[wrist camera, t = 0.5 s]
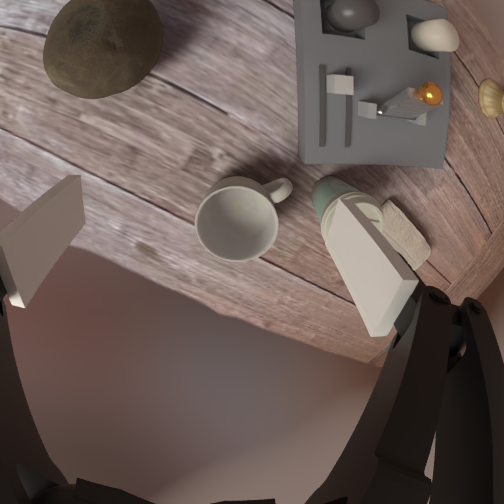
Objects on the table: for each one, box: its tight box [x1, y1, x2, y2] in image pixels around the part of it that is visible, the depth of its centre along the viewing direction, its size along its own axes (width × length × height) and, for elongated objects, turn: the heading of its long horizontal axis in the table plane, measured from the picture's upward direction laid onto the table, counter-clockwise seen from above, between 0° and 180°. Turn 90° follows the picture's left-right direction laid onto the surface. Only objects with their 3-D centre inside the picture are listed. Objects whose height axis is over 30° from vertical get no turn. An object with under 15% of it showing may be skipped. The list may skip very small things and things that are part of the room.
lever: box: [376, 82, 444, 120], centre depth 26 cm, size 3×6×10 cm, turn 94°
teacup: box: [195, 176, 293, 262], centre depth 39 cm, size 14×11×8 cm
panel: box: [293, 0, 451, 169], centre depth 29 cm, size 28×24×7 cm
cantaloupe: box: [43, 0, 163, 99], centre depth 22 cm, size 14×14×15 cm
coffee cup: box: [311, 176, 385, 242], centre depth 38 cm, size 8×8×12 cm
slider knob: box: [326, 74, 353, 95], centre depth 29 cm, size 2×2×3 cm
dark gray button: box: [325, 0, 380, 33], centre depth 22 cm, size 5×5×6 cm
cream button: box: [411, 19, 459, 52], centre depth 23 cm, size 5×5×6 cm
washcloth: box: [381, 199, 431, 271], centre depth 48 cm, size 12×18×3 cm, turn 53°
